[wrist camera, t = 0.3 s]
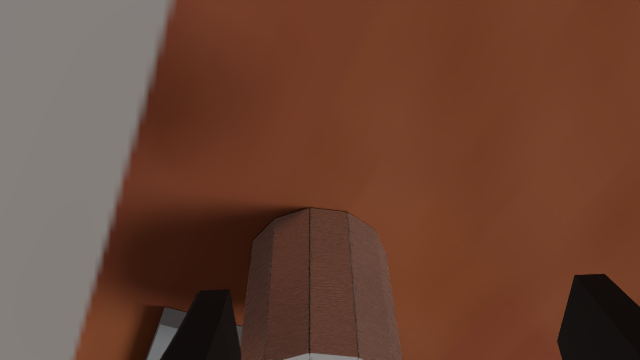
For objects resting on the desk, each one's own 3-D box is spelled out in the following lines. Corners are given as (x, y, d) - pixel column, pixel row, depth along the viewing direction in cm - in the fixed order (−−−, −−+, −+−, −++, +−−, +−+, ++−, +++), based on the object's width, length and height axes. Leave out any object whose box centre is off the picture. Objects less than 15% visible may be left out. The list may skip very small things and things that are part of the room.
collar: (400, 288, 26) (425, 437, 20) (282, 321, 27) (274, 471, 22) (359, 192, 23) (375, 335, 17) (228, 233, 24) (202, 380, 19)
